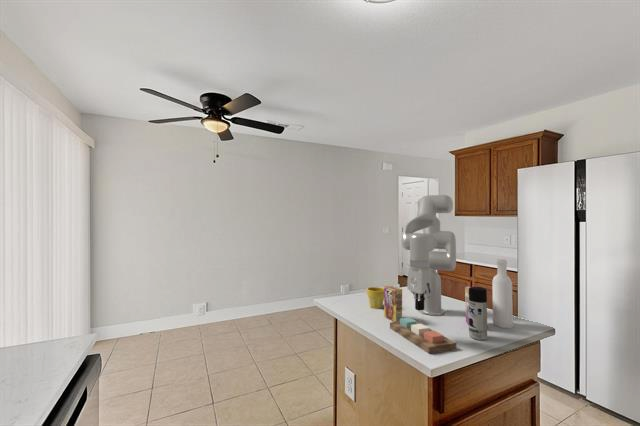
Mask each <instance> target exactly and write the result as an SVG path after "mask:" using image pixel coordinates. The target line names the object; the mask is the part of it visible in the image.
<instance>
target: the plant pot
mask: <svg viewBox="0 0 640 426" xmlns="http://www.w3.org/2000/svg"><path fill="white" fill-rule="evenodd" d="M366 295H367V298H368V304H369V307H370V308H372V309H382V308H383V306H384V287H378V286H377V287H376V286H370V287H367V288H366Z"/></svg>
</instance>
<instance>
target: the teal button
mask: <svg viewBox="0 0 640 426" xmlns="http://www.w3.org/2000/svg"><path fill="white" fill-rule="evenodd" d="M417 322H418V321H417V320H415V319H413V318H412V317H402V319H400V325H402V326H403V327H405V328H411V325H415V324H417Z"/></svg>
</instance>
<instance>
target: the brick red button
mask: <svg viewBox="0 0 640 426" xmlns="http://www.w3.org/2000/svg"><path fill="white" fill-rule="evenodd" d="M443 336H444V335H443V334H442V333H440V332H438V331H435V330H433V331H428V332H424V339H425V340H427V341H428V342H430V343H432V344H434V343H441V342H444V340H443Z"/></svg>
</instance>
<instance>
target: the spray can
mask: <svg viewBox="0 0 640 426" xmlns="http://www.w3.org/2000/svg"><path fill="white" fill-rule="evenodd" d="M468 287H469V325H468V335H469V337H470V338H471V339H473V340H476V341H486V340H487V339H488V302H487V301H488V297H487V296H488V295H487V293H488V291H487V288H485V287H481V286H468Z"/></svg>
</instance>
